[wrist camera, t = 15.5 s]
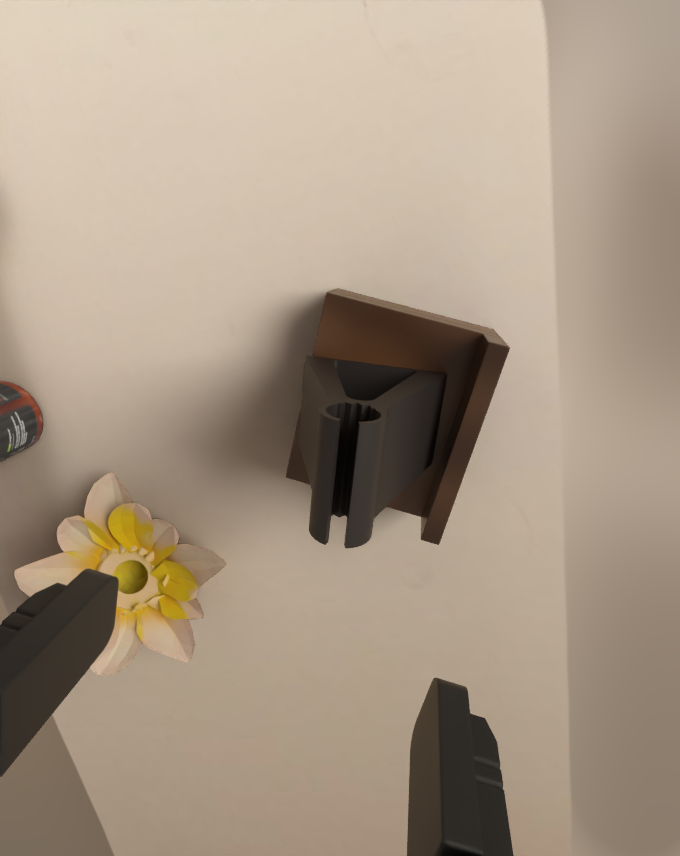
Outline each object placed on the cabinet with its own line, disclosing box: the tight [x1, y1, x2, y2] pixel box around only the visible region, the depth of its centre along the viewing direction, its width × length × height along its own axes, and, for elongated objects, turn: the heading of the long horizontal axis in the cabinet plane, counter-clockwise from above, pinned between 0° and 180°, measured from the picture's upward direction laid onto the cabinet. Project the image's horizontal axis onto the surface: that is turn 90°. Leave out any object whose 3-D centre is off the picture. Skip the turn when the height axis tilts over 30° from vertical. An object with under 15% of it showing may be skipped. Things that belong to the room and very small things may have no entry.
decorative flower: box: [14, 472, 226, 675], centre depth 40 cm, size 15×11×10 cm
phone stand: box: [298, 356, 447, 548], centre depth 28 cm, size 9×6×12 cm, turn 84°
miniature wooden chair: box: [286, 289, 510, 545], centre depth 34 cm, size 13×11×7 cm
